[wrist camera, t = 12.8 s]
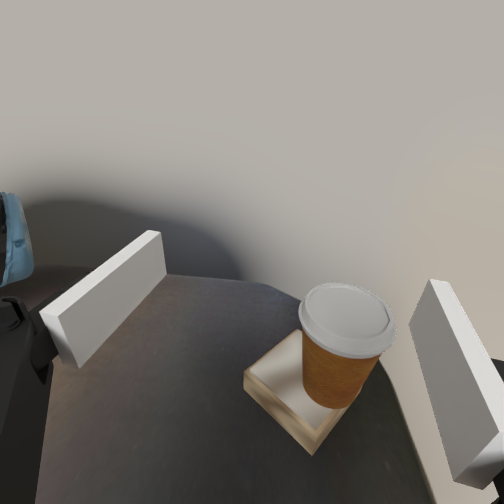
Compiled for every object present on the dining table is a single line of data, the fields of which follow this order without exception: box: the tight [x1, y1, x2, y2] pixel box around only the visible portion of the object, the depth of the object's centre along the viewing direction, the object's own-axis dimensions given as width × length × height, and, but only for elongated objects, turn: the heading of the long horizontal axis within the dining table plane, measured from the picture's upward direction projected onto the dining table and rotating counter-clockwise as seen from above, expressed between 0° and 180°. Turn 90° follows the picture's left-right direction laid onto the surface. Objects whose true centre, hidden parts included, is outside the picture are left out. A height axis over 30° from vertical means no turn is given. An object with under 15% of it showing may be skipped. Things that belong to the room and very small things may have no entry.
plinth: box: [244, 329, 362, 455], centre depth 37 cm, size 11×11×4 cm
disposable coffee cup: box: [299, 283, 396, 409], centre depth 31 cm, size 10×10×12 cm
